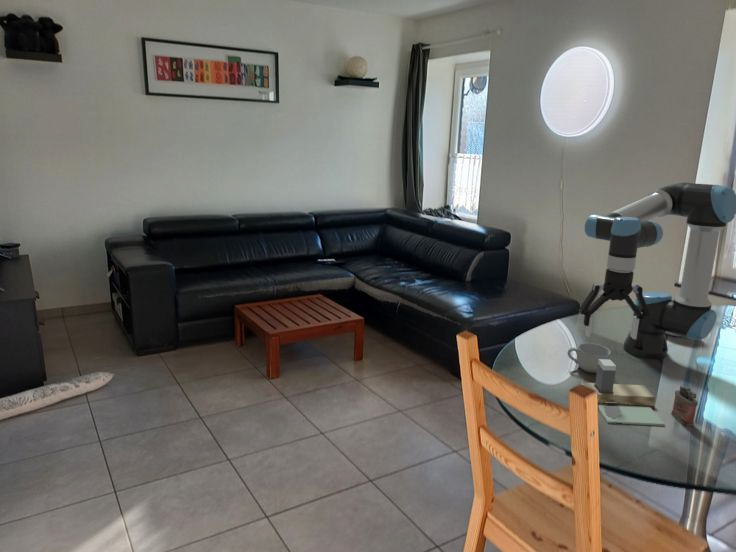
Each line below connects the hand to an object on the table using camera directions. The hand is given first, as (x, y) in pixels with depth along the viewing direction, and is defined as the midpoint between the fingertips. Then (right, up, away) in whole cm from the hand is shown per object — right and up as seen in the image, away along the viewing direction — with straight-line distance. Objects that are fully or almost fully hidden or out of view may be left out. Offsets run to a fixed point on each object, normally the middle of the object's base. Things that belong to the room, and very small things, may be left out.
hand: (610, 336), depth 168 cm
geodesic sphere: (+54, -6, +61) cm, 82 cm away
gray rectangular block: (0, -20, +5) cm, 21 cm away
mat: (+3, -23, -6) cm, 24 cm away
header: (+4, -20, +5) cm, 21 cm away
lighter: (+18, -24, -7) cm, 31 cm away
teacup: (+3, -15, +26) cm, 30 cm away
